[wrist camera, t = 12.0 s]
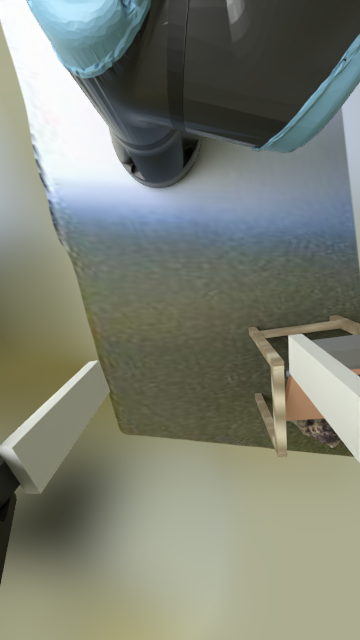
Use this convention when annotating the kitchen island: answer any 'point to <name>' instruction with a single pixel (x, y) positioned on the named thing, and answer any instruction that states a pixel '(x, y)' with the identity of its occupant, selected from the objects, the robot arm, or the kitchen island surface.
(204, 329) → the kitchen island surface
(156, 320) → the kitchen island surface
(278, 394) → the frame
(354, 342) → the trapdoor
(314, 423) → the rock
